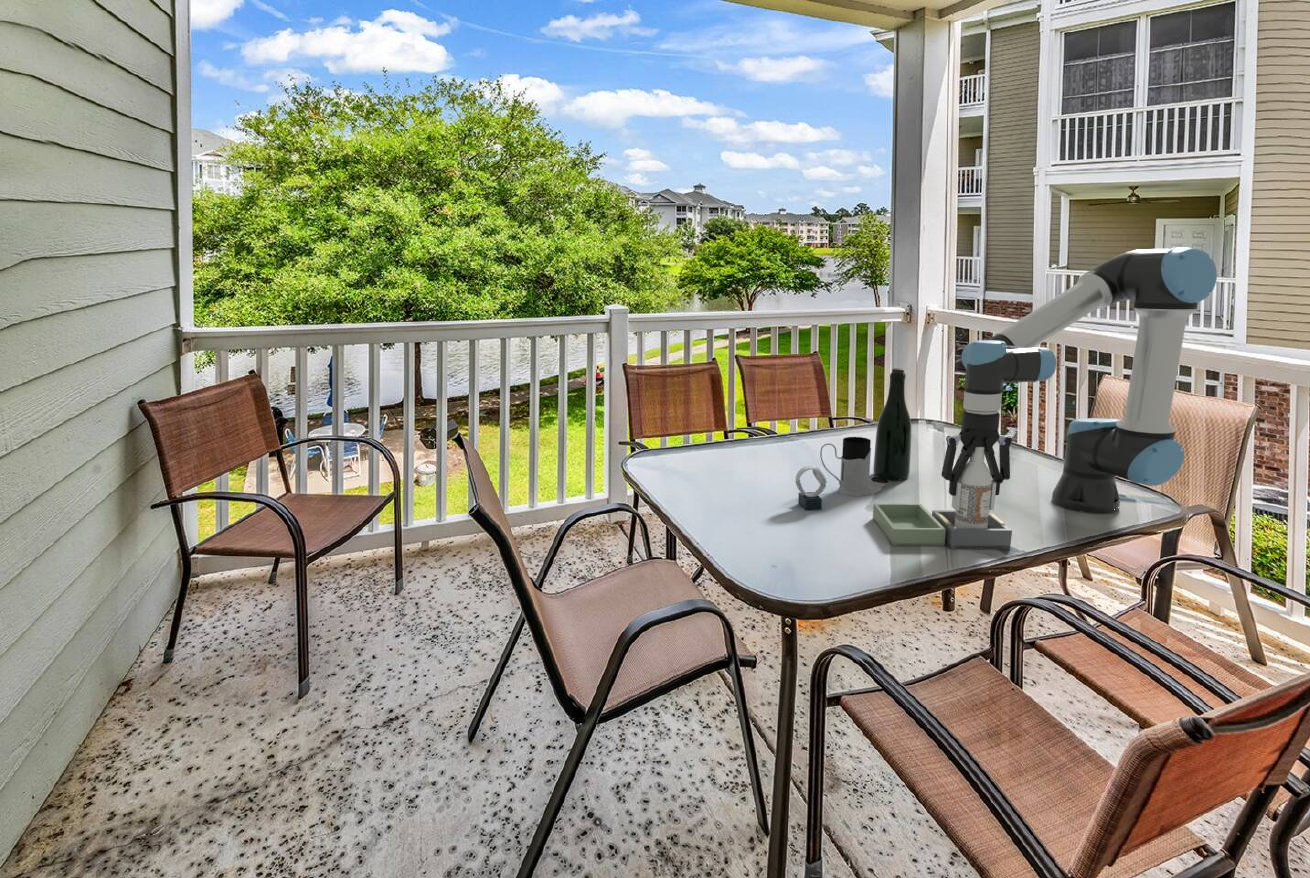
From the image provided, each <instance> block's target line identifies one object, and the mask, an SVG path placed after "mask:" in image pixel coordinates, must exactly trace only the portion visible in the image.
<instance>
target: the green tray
mask: <svg viewBox="0 0 1310 878" xmlns="http://www.w3.org/2000/svg"><path fill="white" fill-rule="evenodd" d="M872 508H873V511H872V519H873V522H874V523H875V524H876V525H877V527H878V528H879V529H880V531H881V532H882V534H883V535H884V537H886V539H887V541H888V542H889V543H890V544H891V546H892V547H893V546H894V547H899V546H900V547H945V545H946V544H945V535H946V529H945V528H944V527H943V526H942V525H941V524H940V523H939V522H938V521H937V520H936V519H935V518H934V517H933V516H932V513H931V512H929V510H928V509H926V508H925V506H923V505H922V503H873V507H872Z"/></svg>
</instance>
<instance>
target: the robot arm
mask: <svg viewBox="0 0 1310 878" xmlns="http://www.w3.org/2000/svg"><path fill="white" fill-rule="evenodd" d="M1215 263H1216V262H1215V261H1214V260H1213V258H1212V257H1210V255H1209V253H1207V251H1205V250H1203V249H1200V248H1195V247H1182V246H1178V247H1167V248H1165V247H1164V248H1150V249H1149V248H1148V249H1144V248H1143V249H1142V248H1141V249H1134V250H1130V251H1126V252H1123V253H1121V254H1119V255H1117V256H1113V257H1112V258H1110V259H1108V260H1106V261H1104V262H1102V263H1101V264H1099V265H1097V266H1095V267H1094V268H1092V269H1090V270H1089V271H1087V272H1085V273H1084V274H1082V275H1081V276H1079V278H1078V279H1077V282H1076V283H1075V284H1074V285H1073V286H1071V287H1070V288H1068V289H1065V290H1064V291H1063V292H1062V293H1060V294H1059V295H1056V296H1055V297H1053V298H1051V299H1050V300H1049V301H1047V302H1046V303H1043V305H1041V306H1039V307H1038V308H1036V309H1034V310H1033V311H1031V312H1030V313H1028V314H1026V315H1025V316H1023V317H1022V318H1020V319H1019V320H1017V321H1015V322H1014V323H1012V324H1011V325H1009V326H1008V327H1006V328H1004V329H1003V330H1001V331H999V332H998V333H997V334H995V335H993V336H992V337H989V339H986V340H985V339H983V340H980V339H979V340H973V341H971V342H969V343H968V344H967V345H966V346H965V347H964V349H963V350H962V353H961V363H962V365H963V367H964V368H965V382H964V394H963V404H962V408H963V409H964V410H963V411H962V415H961V429H960V432H959V433H958V435H957V434H956V435H953V436H951V435H947V436H946V437H945V439H946V450H945V455H944V461H943V464H942V465H943V466H942V469H941V474H940V475H941V477H942V478H943V479H945V480H946V481H949V485H948V486H949V487H948V493H949V495H950V496H952V499H951V507H952V509H953V510H954V511H959V507H960V496H961V484H962V483H960V482H959V479H960V476H961V474H962V472H963V470H964V468H965V466H966V464H967V463H968V462H969V461H970V456H972V454H973V452H975V449H976V447H984V452H985V455H984V458H985V460H986V464H987V468H988V469H989V471H990V474H991V478H992V487H991V497H990V507H989V511H994V510H995V500H996V496H999V495H1000V490H1001V484H1002V483H1003V482H1004V481H1005V480H1010V478H1011V462H1010V461H1011V460H1010V457H1011V456H1010V454H1011V453H1010V447H1011V444H1012V441H1013V439H1012V437H1011V436H1008V435H1007V434H1003V435H1001V434H1000V433H999V428H1000V427H999V426H1000V415H1001V414H1000V412H999V411H1000V410H1001V407H1002V397H1003V396H1002V395H1003V387H1004V384H1010V383H1011V384H1012V383H1030V382H1032V383H1036V382H1043V381H1047V380H1049V379H1051V378H1052V376H1053V375H1054V374H1055V372H1056V370H1057V358H1056V355H1055V353H1054V352H1053V351H1052V350H1051V349H1050V348H1048V347H1038V346H1040V345H1041V344H1043V343H1044V342H1045V341H1047V340H1049V339H1050V338H1052V337H1053V336H1055V335H1057V334H1058V333H1060V332H1062V331H1063V330H1065V329H1066V328H1068V327H1070V326H1071V325H1073V324H1075V323H1076V322H1077V321H1079V320H1080V319H1082V318H1084V317H1086V316H1087V315H1088V314H1090V313H1092V312H1094V311H1095V310H1103V309H1107V308H1108V307H1109V306H1111V305H1113V304H1115V303H1118V302H1124V301H1134V303H1133V311H1135V312H1136V314H1138V316H1139V321H1138V322H1139V323H1138V329H1137V336H1136V343H1135V348H1134V354H1133V360H1132V361H1133V362H1132V366H1131V367H1132V368H1131V372H1130V373H1131V374H1130V380H1129V386H1128V392H1127V398H1126V406H1125V411H1124V417H1123V418H1122V419H1117V418H1101V417H1098V418H1097V417H1096V418H1094V417H1093V418H1077V419H1074V420H1072V421H1071V422H1070V423H1069V427H1068V430H1067V433H1066V443H1065V449H1064V451H1065V452H1064V458H1063V459H1064V460H1063V468H1062V469H1063V470H1062V474H1061V476H1060V478H1059V480H1058V481H1057V483H1056V485H1055V487H1054V489H1053V491H1052V493H1051V494H1052V495H1051V502H1052V503H1053V504H1055V505H1056V506H1058V507H1060V508H1063V509H1066V510H1070V511H1075V512H1079V513H1086V514H1094V515H1095V514H1097V515H1100V514H1101V515H1102V514H1103V515H1105V514H1113V513H1117V512H1118V511H1119V510H1120V507H1121V506H1120V505H1121V500H1120V495H1119V491H1118V487H1117V484H1116V483H1117V482H1116V477H1117V478H1120V479H1123V480H1127V481H1130V482H1131V483H1134V484H1137V485H1138V484H1140V485H1144V486H1147V487H1148V486H1149V487H1157V486H1160V485H1163V484H1165V483H1167V482H1169V481H1170V480H1171V479H1172V478H1174V477H1175V476H1176V475H1177V474H1178V472H1179V471H1180V469H1181V468H1182V466H1183V464H1184V461H1185V449H1184V448H1183V446H1182V444H1181V443H1179V442H1178V441H1177V440H1175V435H1176V428H1175V427H1174V426H1173V425H1172V424H1171V423H1170V416H1171V411H1172V404H1173V399H1174V394H1175V387H1176V382H1177V376H1178V370H1179V366H1180V365H1179V364H1180V358H1181V353H1182V347H1183V341H1184V337H1185V330H1186V326H1187V324H1186V323H1187V318H1189V317H1190V316H1191V315H1193V314H1194V312H1196V311H1197V309H1198V305H1199V303H1200V302H1202V301H1204V300H1205V299H1207V298H1208V297H1209V296H1210V293H1212V292H1213V291H1214V289H1215V287H1216V284H1217V278H1218V272H1217V271H1218V270H1217V266H1216V264H1215ZM959 442H961V443H962V447H961V449H960V453H959V455H958V458H957V459H956V461H955V458H956V453H957V446H958V445H959ZM996 443H998V446H999V448H998V449H999V450H998V453H999V454H998V455H999V467H998V463H997V460H996V457H995V450H994V445H995V444H996ZM954 463H955V464H954ZM1118 507H1119V508H1118ZM1114 509H1115V510H1114Z"/></svg>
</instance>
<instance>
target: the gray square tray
mask: <svg viewBox="0 0 1310 878" xmlns="http://www.w3.org/2000/svg"><path fill="white" fill-rule="evenodd" d="M931 511H932V512H931V515H932V516H933V517H934V518H935V519H936V520H937V521H938V522H939V523H940V524H941V525H942V526H943V527H944V528H945V529H946V535H945V545H946V546H947V547H948V548H949V549H950V550H1011V545H1012V544H1011V543H1012V535H1013V530H1012V529H1011V528H1010V527H1009V526H1007V525H1006V523H1005V521H1002V519H1000V518H999V517H997V515H995V514H993V513H991V512H990V511H989V518H988V527H987V528H988V529H955V528H954V527H953V526H952V525H951V523H955V513H956V510H951V509H949V510H931Z"/></svg>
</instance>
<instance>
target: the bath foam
mask: <svg viewBox="0 0 1310 878" xmlns="http://www.w3.org/2000/svg"><path fill="white" fill-rule="evenodd" d="M986 464H987V463H986V462H985V452H984V447H976V449H975V452H973V454H972V456H970V458H969V460H968V462H967V464H966V466H965V468H964V470H963V472H962V474H961V476H960V479H959V482H960V483H962V484H961V496H960V507H959V511H956V510H955V511H956V513H955V527H956V529H987V527H988V518H989V512H990V510H989V507H990V497H991V487H992V477H991V474H990V470H989V467H988V465H986Z"/></svg>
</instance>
